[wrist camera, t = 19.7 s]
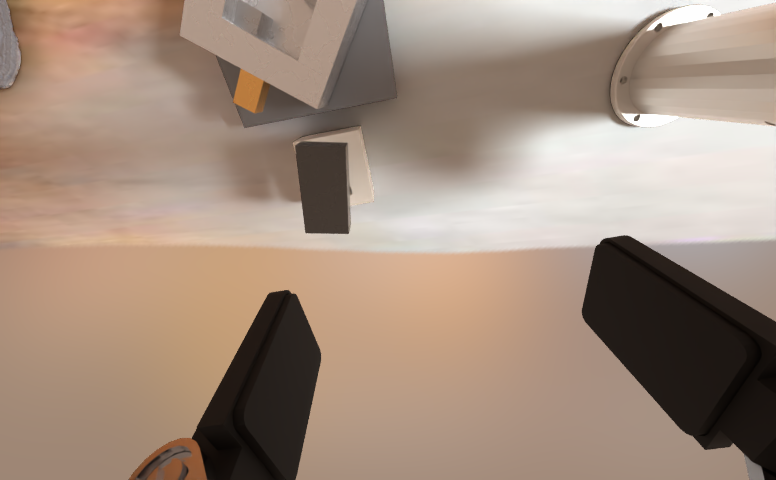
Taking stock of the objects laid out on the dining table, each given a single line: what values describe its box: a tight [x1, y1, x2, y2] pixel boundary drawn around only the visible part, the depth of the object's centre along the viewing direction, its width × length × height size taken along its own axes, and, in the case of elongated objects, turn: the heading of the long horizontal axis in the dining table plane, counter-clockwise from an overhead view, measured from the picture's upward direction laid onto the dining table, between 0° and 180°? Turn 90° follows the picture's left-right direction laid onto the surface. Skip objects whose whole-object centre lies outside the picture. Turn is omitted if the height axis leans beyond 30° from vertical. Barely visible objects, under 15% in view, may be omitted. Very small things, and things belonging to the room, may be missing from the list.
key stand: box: [292, 126, 374, 206], centre depth 37 cm, size 8×9×4 cm
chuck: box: [180, 0, 367, 113], centre depth 25 cm, size 15×12×6 cm
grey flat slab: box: [216, 0, 397, 128], centre depth 29 cm, size 18×18×4 cm
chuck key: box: [295, 141, 351, 234], centre depth 33 cm, size 5×9×11 cm, turn 178°
